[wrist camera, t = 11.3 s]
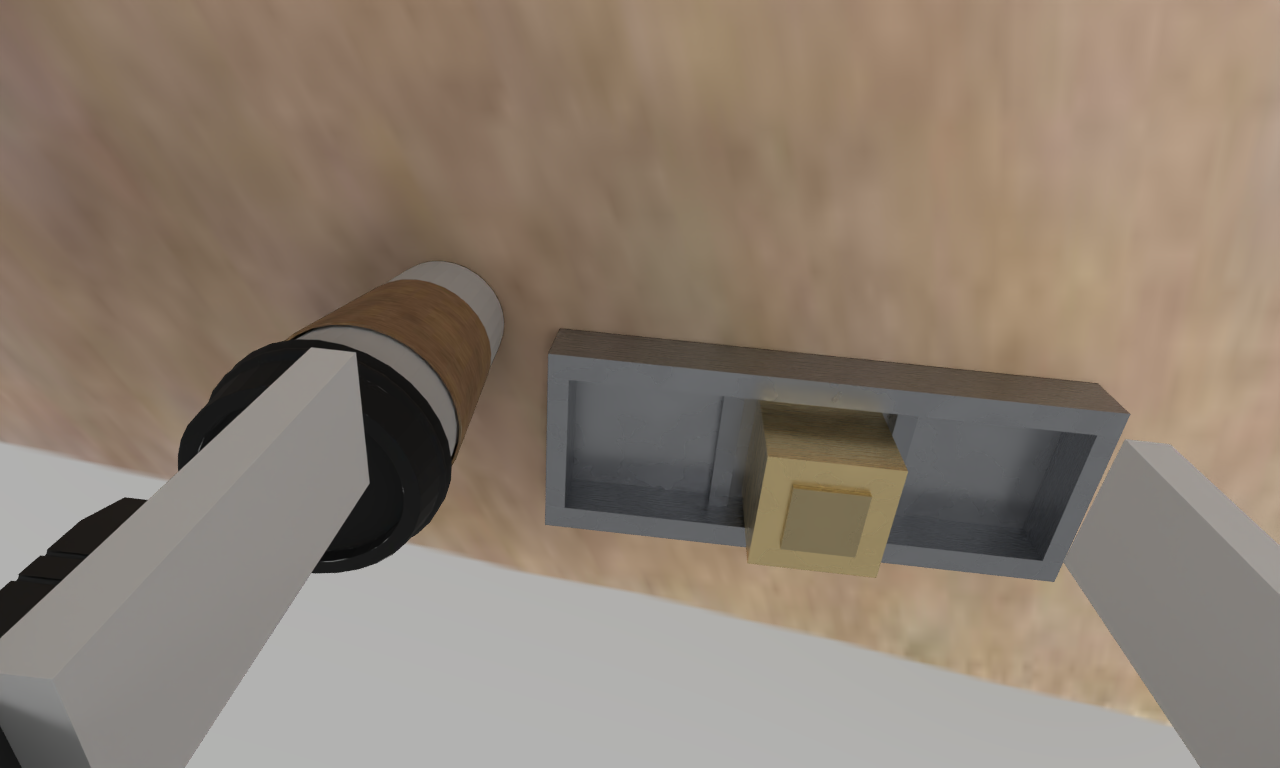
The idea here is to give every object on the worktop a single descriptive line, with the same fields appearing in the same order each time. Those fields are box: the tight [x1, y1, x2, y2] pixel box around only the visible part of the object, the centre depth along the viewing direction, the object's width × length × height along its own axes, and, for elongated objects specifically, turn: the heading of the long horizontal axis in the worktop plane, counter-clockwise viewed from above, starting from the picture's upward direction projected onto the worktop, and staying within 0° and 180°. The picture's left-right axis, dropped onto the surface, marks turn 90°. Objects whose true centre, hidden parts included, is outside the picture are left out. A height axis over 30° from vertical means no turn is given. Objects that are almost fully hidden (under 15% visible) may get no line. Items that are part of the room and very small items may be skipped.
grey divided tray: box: [545, 329, 1130, 582], centre depth 36 cm, size 26×10×3 cm, turn 86°
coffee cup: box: [178, 261, 504, 573], centre depth 29 cm, size 8×8×15 cm
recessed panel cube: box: [742, 400, 908, 578], centre depth 35 cm, size 6×6×6 cm
